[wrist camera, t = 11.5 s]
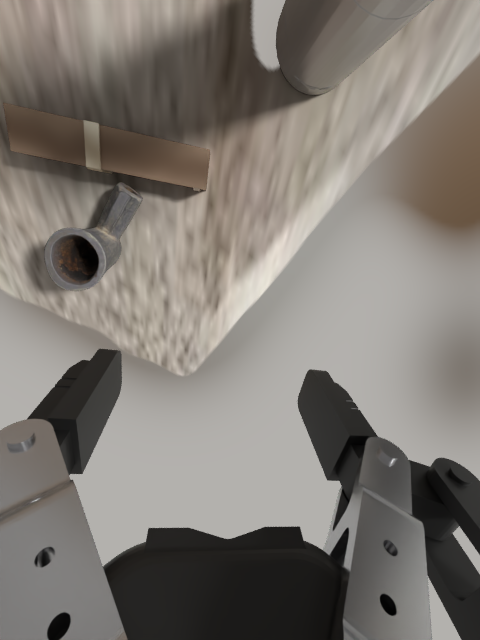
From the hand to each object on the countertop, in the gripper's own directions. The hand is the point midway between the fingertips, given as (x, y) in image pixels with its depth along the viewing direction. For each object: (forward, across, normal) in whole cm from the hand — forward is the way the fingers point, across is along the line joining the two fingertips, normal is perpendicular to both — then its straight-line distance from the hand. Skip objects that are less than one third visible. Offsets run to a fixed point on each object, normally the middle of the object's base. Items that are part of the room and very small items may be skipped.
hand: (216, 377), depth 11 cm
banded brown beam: (+28, +12, -9) cm, 32 cm away
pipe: (+28, +14, 0) cm, 31 cm away
